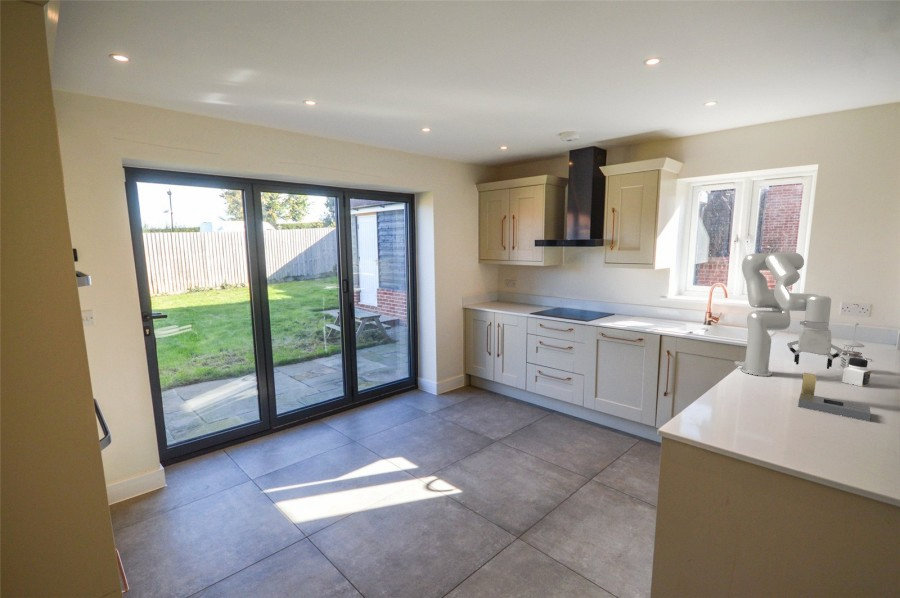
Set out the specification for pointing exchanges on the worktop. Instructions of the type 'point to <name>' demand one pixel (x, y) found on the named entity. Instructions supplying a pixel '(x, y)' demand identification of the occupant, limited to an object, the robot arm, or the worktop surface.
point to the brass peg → (808, 383)
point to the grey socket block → (835, 406)
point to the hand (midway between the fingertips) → (812, 366)
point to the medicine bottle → (857, 372)
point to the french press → (850, 352)
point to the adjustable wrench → (840, 355)
